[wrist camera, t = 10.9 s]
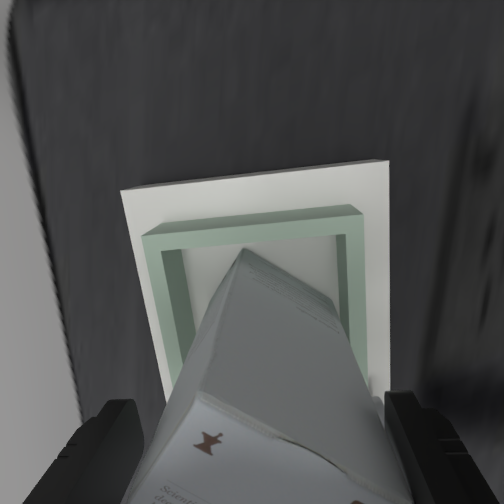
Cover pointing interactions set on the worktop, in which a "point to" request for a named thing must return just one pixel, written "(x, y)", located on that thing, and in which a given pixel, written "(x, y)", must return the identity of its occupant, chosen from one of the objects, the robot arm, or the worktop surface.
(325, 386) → the skincare box
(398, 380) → the worktop surface
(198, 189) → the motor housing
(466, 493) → the robot arm
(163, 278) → the green piece
